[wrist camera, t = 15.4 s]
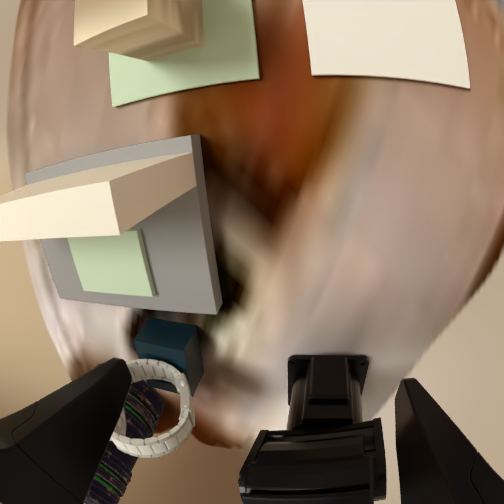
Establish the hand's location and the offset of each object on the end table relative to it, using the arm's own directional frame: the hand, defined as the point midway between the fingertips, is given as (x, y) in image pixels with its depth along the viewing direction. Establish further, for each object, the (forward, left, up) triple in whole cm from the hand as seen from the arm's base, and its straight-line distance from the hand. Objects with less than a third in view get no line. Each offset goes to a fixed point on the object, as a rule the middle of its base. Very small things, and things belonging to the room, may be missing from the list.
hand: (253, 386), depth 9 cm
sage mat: (+15, +6, -12) cm, 20 cm away
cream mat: (+15, -7, -12) cm, 20 cm away
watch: (-10, +10, -12) cm, 19 cm away
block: (+15, +6, -12) cm, 20 cm away
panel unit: (+1, +13, -12) cm, 18 cm away
